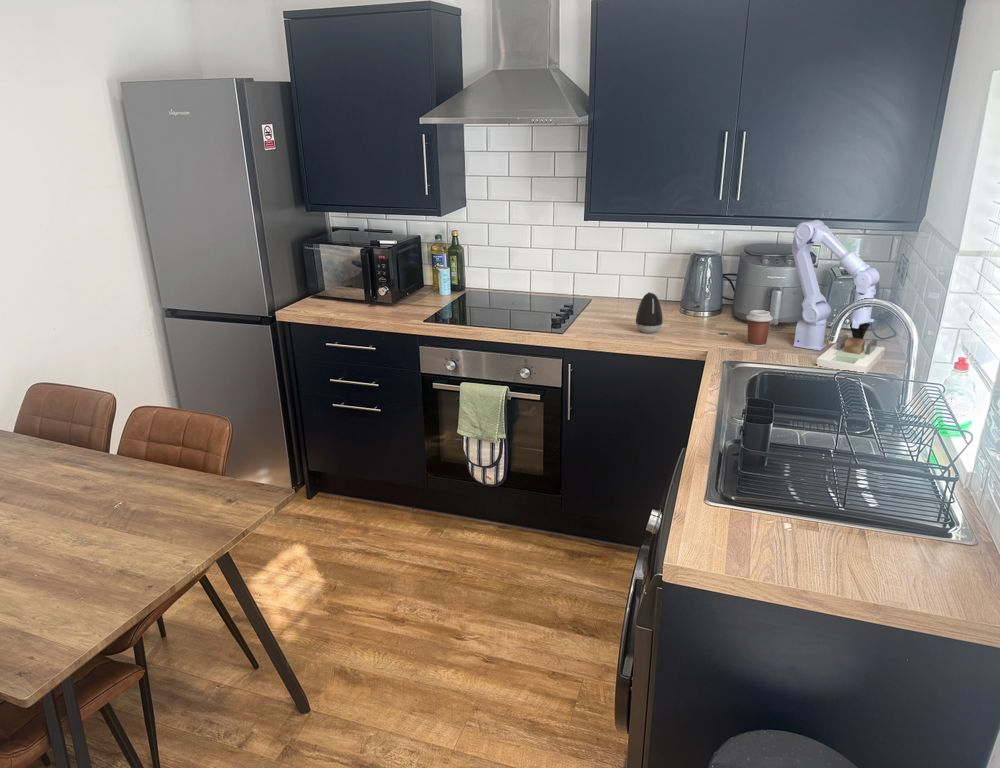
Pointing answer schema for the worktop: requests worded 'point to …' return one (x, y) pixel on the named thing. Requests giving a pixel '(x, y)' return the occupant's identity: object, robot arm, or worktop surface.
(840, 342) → the channel walls
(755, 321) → the coffee cup
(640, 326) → the black and white egg-shape
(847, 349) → the walnut block
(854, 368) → the channel board
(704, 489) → the worktop surface
